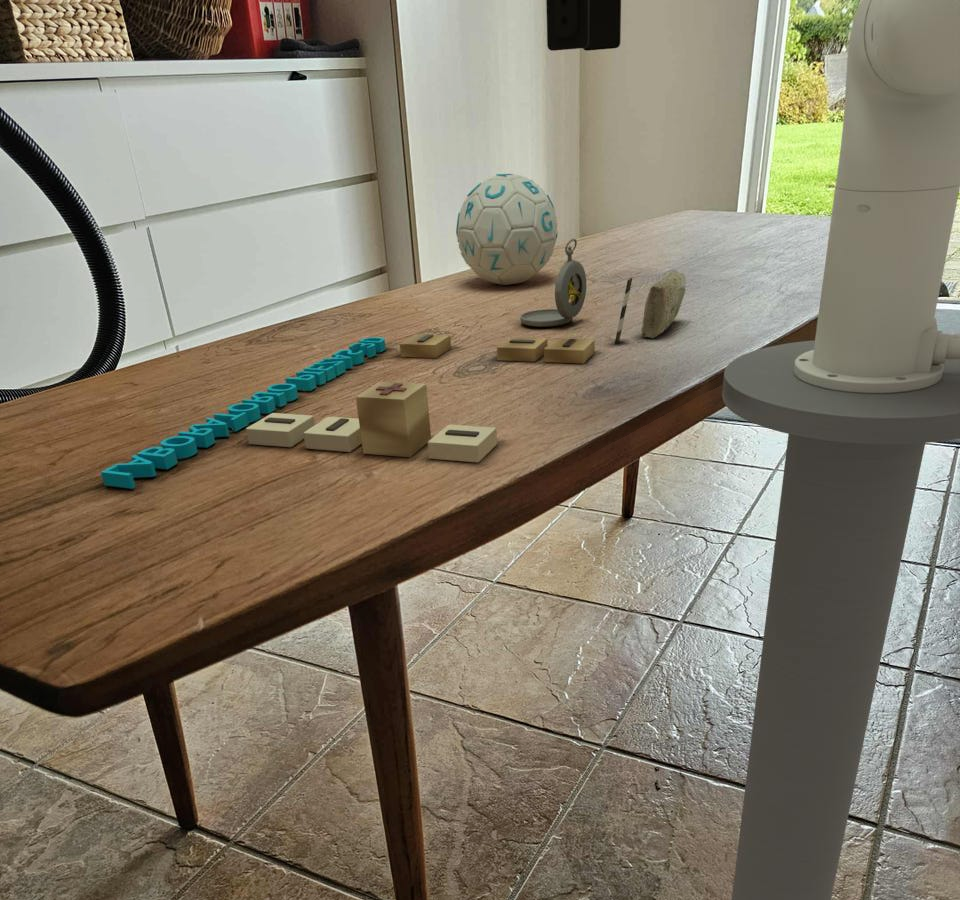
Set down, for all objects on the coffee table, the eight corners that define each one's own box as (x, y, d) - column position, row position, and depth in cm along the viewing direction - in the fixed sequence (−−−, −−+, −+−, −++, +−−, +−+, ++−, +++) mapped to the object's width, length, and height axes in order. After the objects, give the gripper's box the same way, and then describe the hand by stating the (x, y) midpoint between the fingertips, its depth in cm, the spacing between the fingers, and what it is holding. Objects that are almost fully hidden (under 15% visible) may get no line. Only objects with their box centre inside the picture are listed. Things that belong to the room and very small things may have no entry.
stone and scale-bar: (614, 344, 103) (642, 318, 112) (651, 353, 102) (677, 327, 111) (627, 280, 99) (655, 259, 108) (666, 289, 98) (692, 267, 107)
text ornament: (132, 488, 73) (128, 475, 73) (104, 485, 74) (100, 472, 74) (389, 347, 108) (388, 337, 107) (367, 346, 109) (366, 336, 108)
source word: (594, 353, 100) (594, 337, 100) (583, 363, 97) (583, 347, 96) (417, 346, 108) (415, 332, 107) (400, 356, 104) (399, 341, 104)
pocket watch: (519, 318, 117) (516, 235, 112) (584, 314, 117) (584, 231, 111) (521, 334, 110) (518, 246, 105) (590, 329, 110) (590, 241, 104)
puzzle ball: (498, 271, 147) (493, 168, 139) (577, 277, 139) (576, 168, 131) (440, 289, 137) (431, 180, 129) (521, 296, 129) (517, 180, 121)
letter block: (431, 439, 79) (426, 381, 77) (410, 457, 76) (403, 397, 73) (386, 436, 81) (379, 379, 78) (363, 453, 77) (355, 394, 75)
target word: (497, 444, 77) (496, 425, 76) (478, 462, 74) (477, 443, 73) (275, 428, 85) (272, 410, 84) (248, 444, 81) (244, 426, 81)
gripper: (606, -286, 56) (603, 45, 65) (662, -221, 69) (654, 45, 78) (492, -262, 58) (505, 53, 67) (569, -203, 72) (571, 52, 81)
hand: (585, 49), depth 73 cm, fingers open, 9 cm apart
